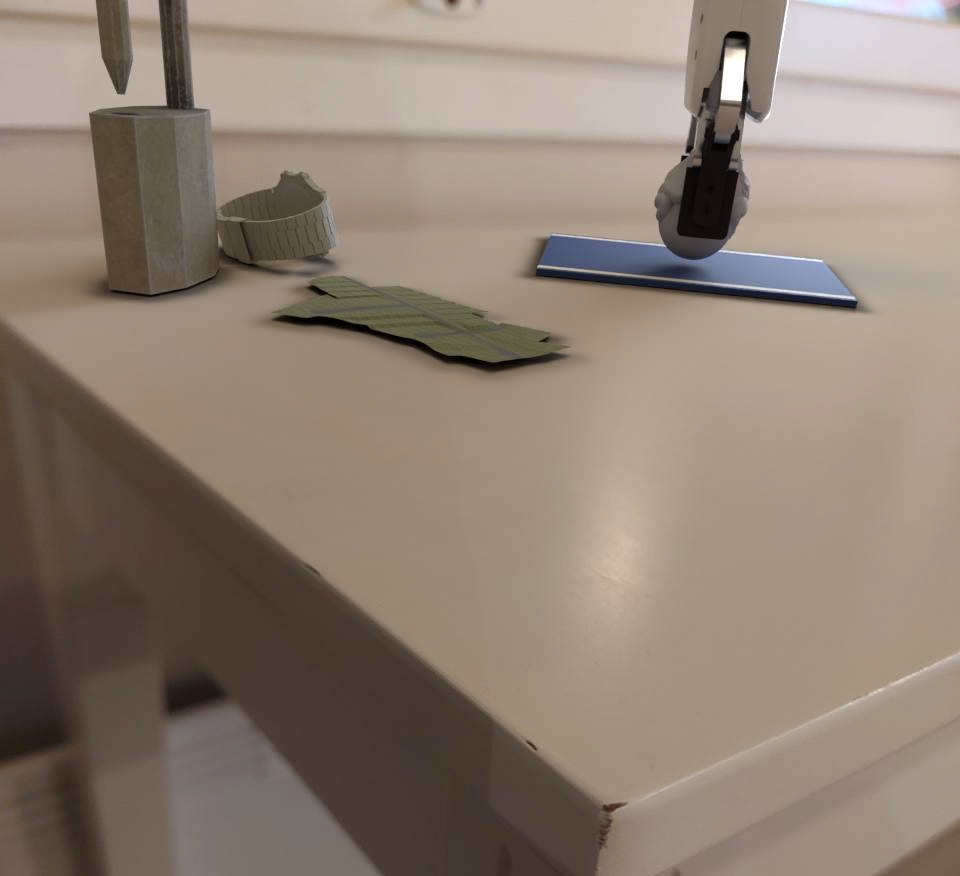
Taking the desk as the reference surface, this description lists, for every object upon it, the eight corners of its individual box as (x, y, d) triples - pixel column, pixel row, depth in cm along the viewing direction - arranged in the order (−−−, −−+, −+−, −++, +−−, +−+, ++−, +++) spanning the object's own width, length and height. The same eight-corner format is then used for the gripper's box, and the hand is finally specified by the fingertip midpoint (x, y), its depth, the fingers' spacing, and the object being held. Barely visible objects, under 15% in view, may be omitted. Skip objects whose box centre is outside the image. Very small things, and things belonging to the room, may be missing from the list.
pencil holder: (95, 288, 52) (52, -60, 45) (169, 261, 59) (143, -45, 51) (165, 298, 52) (134, -54, 44) (232, 269, 59) (216, -40, 51)
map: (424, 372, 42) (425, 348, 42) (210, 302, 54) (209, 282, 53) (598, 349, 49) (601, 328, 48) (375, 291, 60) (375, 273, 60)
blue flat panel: (820, 264, 74) (821, 259, 74) (856, 307, 62) (858, 300, 62) (550, 238, 75) (551, 232, 75) (535, 275, 64) (536, 268, 63)
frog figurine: (755, 261, 69) (777, 149, 66) (707, 273, 64) (728, 153, 61) (678, 246, 72) (695, 138, 69) (626, 256, 68) (642, 141, 64)
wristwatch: (361, 268, 61) (362, 179, 59) (273, 278, 57) (270, 183, 55) (276, 241, 67) (274, 158, 64) (191, 248, 63) (185, 160, 60)
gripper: (847, -116, 50) (769, 257, 60) (798, -81, 65) (741, 214, 74) (697, -127, 51) (643, 245, 60) (682, -89, 66) (640, 205, 75)
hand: (698, 225), depth 67 cm, fingers closed on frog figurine, 6 cm apart
